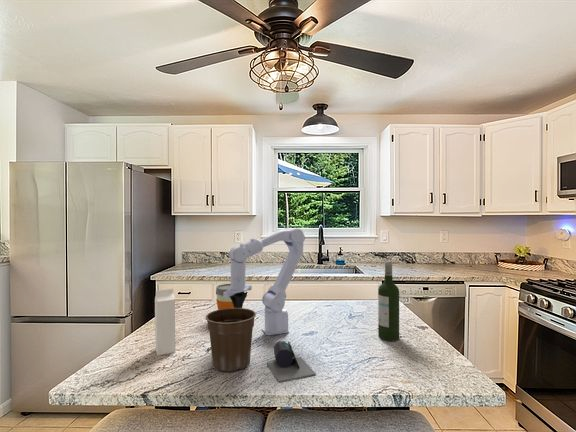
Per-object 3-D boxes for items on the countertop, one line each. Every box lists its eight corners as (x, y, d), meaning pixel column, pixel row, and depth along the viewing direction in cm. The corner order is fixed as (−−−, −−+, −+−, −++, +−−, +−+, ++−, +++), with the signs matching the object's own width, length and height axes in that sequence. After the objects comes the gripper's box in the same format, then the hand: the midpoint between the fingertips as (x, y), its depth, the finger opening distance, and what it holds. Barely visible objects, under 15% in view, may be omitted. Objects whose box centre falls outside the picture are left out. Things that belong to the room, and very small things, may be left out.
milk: (175, 352, 115) (175, 290, 115) (157, 356, 112) (156, 292, 112) (172, 346, 120) (172, 287, 120) (154, 349, 117) (154, 288, 117)
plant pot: (213, 352, 115) (213, 307, 115) (259, 352, 114) (258, 307, 114) (199, 375, 98) (199, 322, 98) (252, 376, 98) (252, 323, 98)
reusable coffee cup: (248, 317, 153) (248, 285, 153) (230, 324, 143) (230, 290, 142) (229, 312, 160) (228, 282, 160) (210, 320, 149) (209, 287, 149)
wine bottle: (402, 337, 127) (402, 261, 127) (393, 343, 121) (393, 263, 121) (384, 332, 133) (383, 259, 132) (374, 338, 127) (374, 261, 126)
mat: (300, 358, 110) (300, 357, 110) (316, 374, 98) (316, 373, 98) (266, 364, 105) (266, 363, 105) (278, 382, 94) (278, 381, 94)
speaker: (294, 338, 112) (300, 349, 102) (294, 355, 112) (300, 368, 101) (272, 340, 110) (276, 351, 100) (272, 357, 110) (276, 370, 100)
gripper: (233, 281, 119) (233, 318, 119) (257, 275, 131) (257, 308, 131) (219, 279, 123) (219, 315, 123) (243, 273, 135) (243, 306, 135)
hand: (238, 311), depth 127 cm, fingers closed
